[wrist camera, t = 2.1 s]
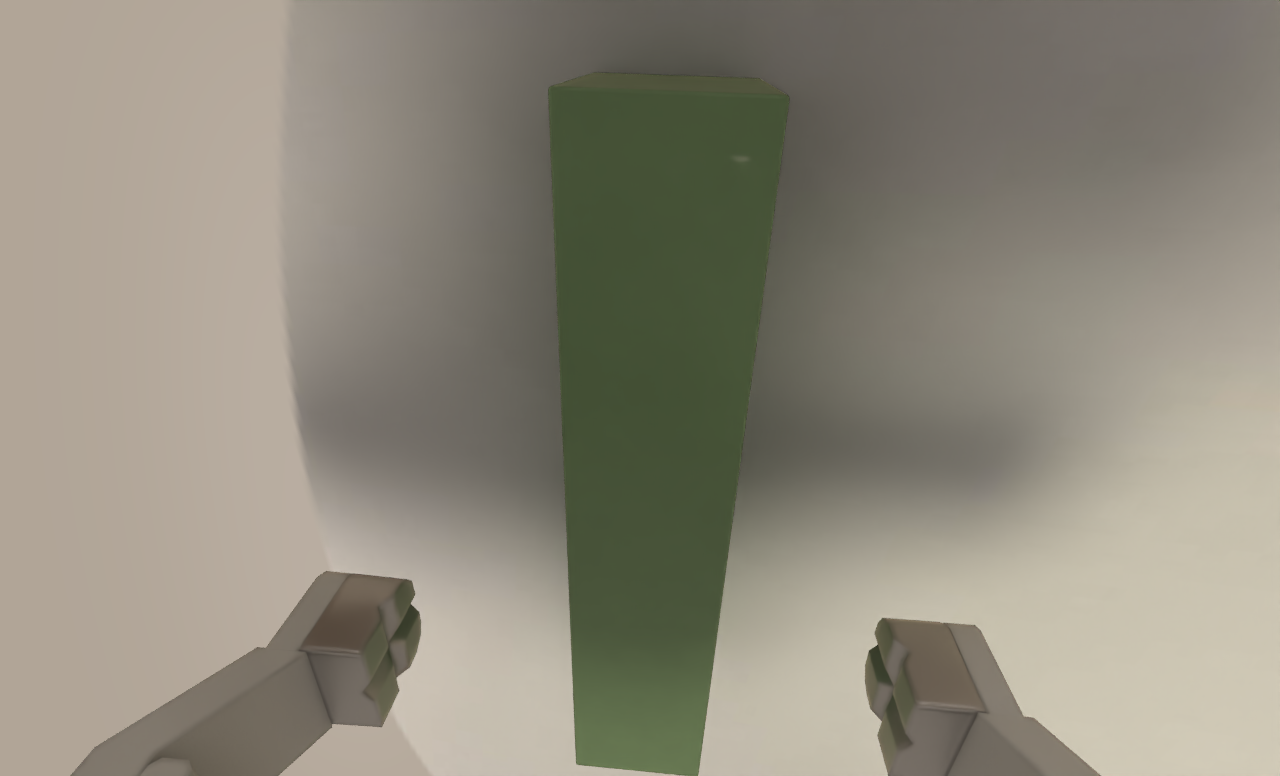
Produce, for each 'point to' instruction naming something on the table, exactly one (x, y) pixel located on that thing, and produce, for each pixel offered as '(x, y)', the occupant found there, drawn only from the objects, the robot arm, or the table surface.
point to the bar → (655, 385)
